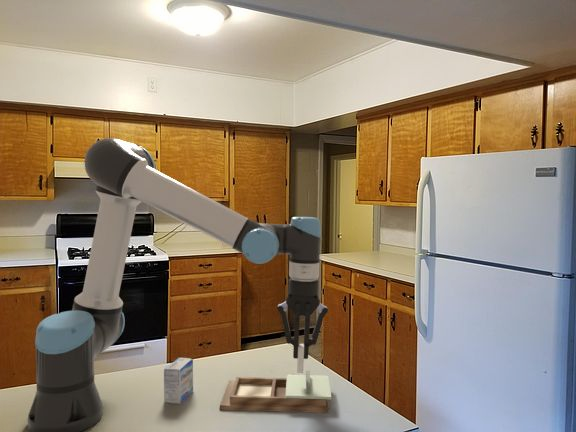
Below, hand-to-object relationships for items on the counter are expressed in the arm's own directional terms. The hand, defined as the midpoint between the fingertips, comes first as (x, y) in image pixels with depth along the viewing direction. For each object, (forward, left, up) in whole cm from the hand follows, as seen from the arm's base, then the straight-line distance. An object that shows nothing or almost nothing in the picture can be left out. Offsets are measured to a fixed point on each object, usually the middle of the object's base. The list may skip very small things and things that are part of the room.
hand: (300, 370), depth 112 cm
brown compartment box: (-6, 0, -7) cm, 9 cm away
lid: (+2, 0, -4) cm, 5 cm away
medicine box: (-31, -1, -7) cm, 32 cm away
